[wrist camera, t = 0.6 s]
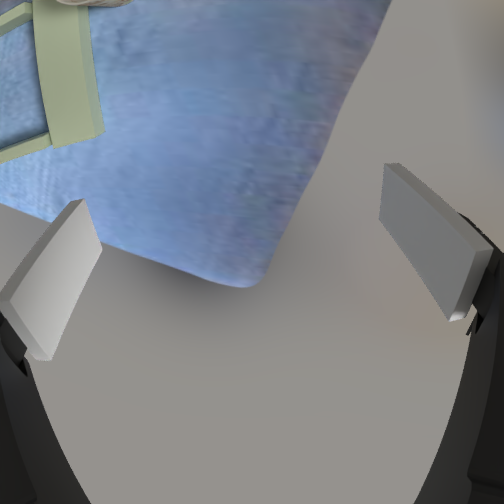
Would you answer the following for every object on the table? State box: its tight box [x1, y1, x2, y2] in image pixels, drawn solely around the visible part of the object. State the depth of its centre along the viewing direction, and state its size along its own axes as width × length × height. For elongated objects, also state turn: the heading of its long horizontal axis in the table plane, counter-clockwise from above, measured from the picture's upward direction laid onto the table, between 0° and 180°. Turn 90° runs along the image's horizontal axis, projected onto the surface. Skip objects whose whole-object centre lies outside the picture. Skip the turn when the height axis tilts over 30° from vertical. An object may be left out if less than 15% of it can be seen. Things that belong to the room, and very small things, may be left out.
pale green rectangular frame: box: [0, 0, 105, 164], centre depth 26 cm, size 20×22×4 cm
